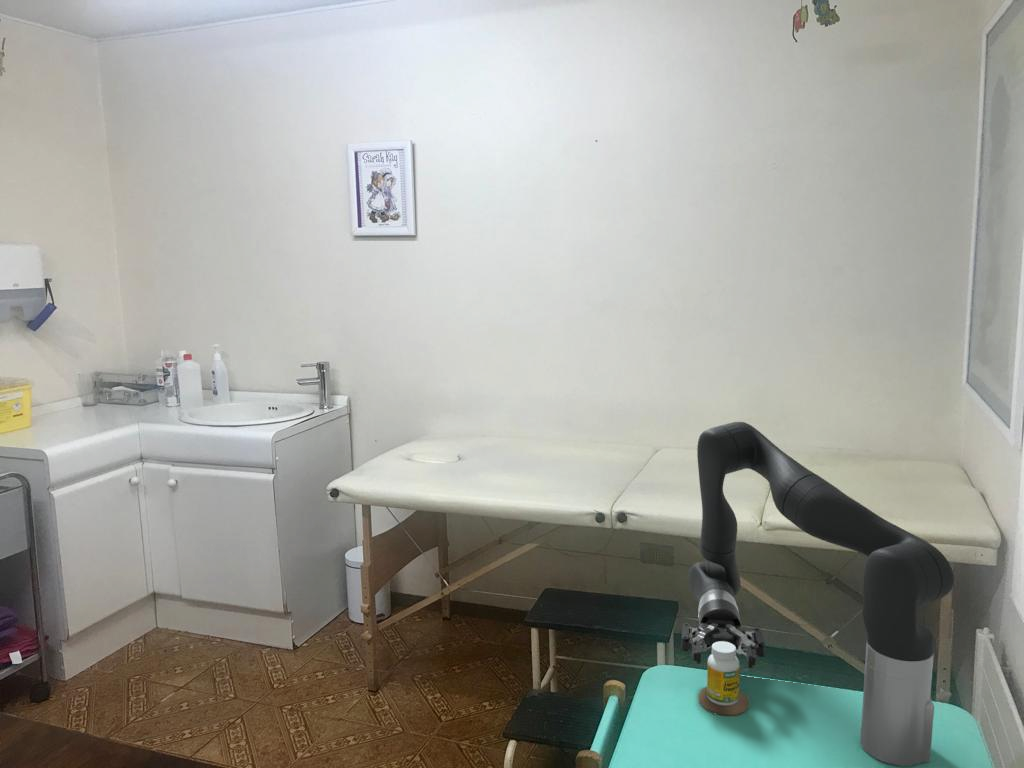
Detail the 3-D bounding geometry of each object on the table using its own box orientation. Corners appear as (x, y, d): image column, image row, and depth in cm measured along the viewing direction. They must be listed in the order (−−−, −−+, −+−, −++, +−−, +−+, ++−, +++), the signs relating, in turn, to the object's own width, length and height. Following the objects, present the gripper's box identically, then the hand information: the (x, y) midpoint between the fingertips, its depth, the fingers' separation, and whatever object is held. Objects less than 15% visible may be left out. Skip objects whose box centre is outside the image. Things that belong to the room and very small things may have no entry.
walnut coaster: (746, 690, 143) (746, 686, 143) (751, 718, 135) (751, 714, 135) (697, 686, 145) (697, 682, 145) (699, 713, 137) (699, 710, 137)
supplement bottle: (721, 686, 144) (723, 635, 142) (745, 700, 139) (747, 648, 137) (700, 696, 141) (701, 644, 139) (723, 710, 136) (725, 658, 135)
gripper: (680, 595, 154) (682, 637, 138) (758, 600, 151) (769, 643, 136) (680, 632, 156) (681, 677, 140) (757, 637, 153) (767, 684, 137)
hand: (724, 660), depth 138 cm, fingers open, 8 cm apart
